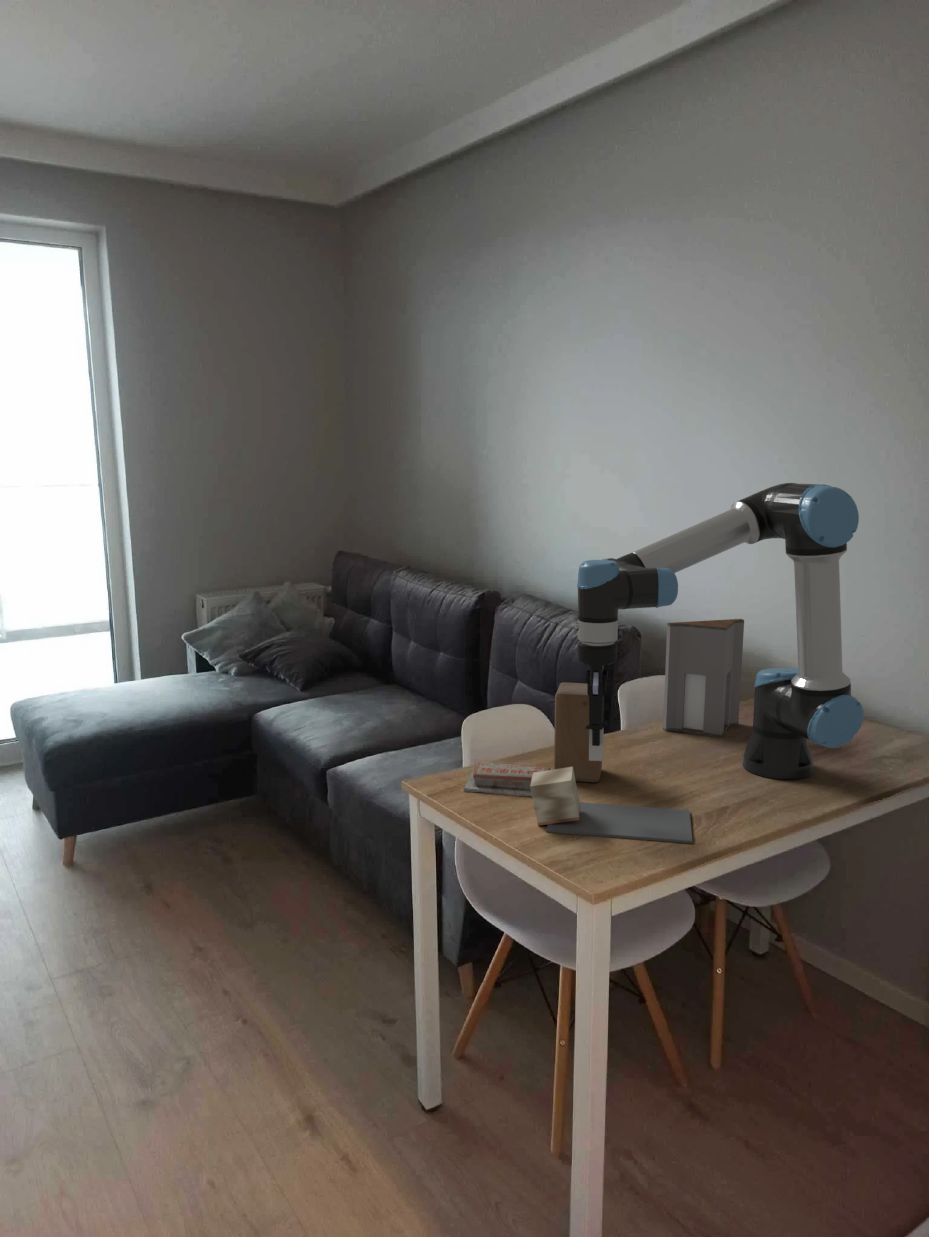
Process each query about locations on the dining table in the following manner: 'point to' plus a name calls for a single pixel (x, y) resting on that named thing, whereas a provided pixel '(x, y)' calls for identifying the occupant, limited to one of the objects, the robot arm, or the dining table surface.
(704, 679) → the cabinet
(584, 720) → the wooden block
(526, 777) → the packaged product
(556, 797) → the cube
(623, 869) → the dining table surface
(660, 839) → the rubber mat
